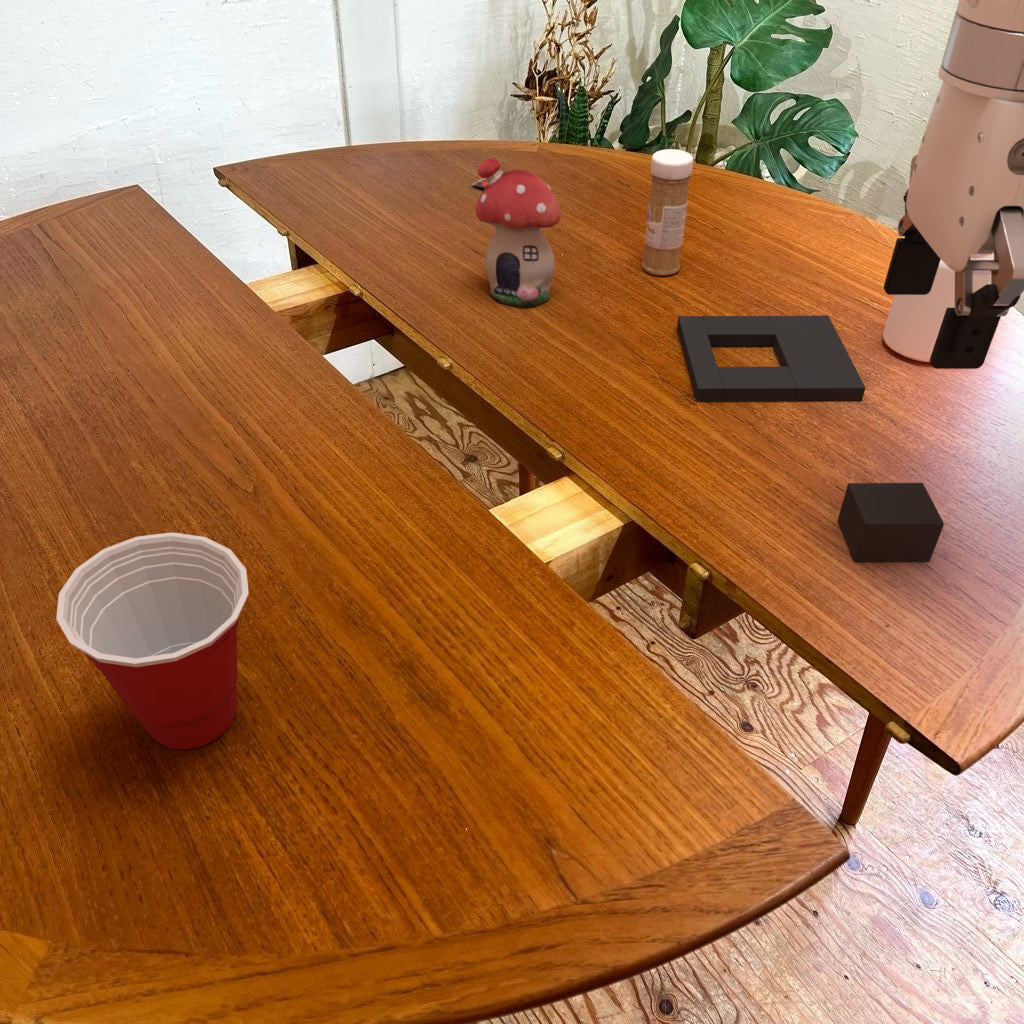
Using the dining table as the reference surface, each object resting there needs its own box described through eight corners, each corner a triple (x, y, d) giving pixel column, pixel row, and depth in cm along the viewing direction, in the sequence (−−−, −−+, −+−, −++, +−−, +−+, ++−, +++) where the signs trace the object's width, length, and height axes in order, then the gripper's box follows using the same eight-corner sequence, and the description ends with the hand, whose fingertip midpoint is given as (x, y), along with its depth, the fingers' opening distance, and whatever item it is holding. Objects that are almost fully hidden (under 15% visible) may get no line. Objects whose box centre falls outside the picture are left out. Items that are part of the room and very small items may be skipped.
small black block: (909, 520, 79) (922, 482, 77) (929, 562, 75) (944, 523, 73) (837, 520, 79) (847, 482, 77) (853, 562, 75) (865, 524, 73)
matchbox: (500, 194, 130) (500, 191, 130) (468, 187, 132) (468, 184, 132) (517, 183, 133) (517, 179, 133) (485, 176, 135) (484, 173, 135)
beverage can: (963, 373, 96) (1003, 261, 88) (879, 359, 98) (910, 249, 90) (962, 334, 102) (999, 226, 94) (882, 322, 104) (912, 215, 96)
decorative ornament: (468, 293, 109) (463, 162, 99) (500, 271, 113) (498, 143, 104) (538, 315, 105) (540, 180, 96) (568, 291, 109) (573, 160, 100)
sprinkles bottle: (637, 261, 115) (647, 149, 106) (673, 258, 116) (686, 146, 107) (647, 279, 112) (658, 164, 103) (685, 276, 112) (699, 161, 104)
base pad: (825, 327, 103) (828, 315, 102) (862, 400, 92) (865, 387, 91) (676, 328, 103) (678, 315, 102) (696, 401, 92) (698, 388, 91)
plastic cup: (269, 778, 60) (233, 652, 53) (94, 790, 60) (31, 664, 52) (286, 648, 69) (257, 522, 61) (132, 658, 68) (82, 532, 60)
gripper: (1165, 105, 47) (1038, 400, 58) (1021, 15, 60) (940, 269, 71) (1012, 104, 47) (914, 399, 58) (901, 14, 60) (839, 268, 71)
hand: (928, 327), depth 64 cm, fingers open, 9 cm apart
